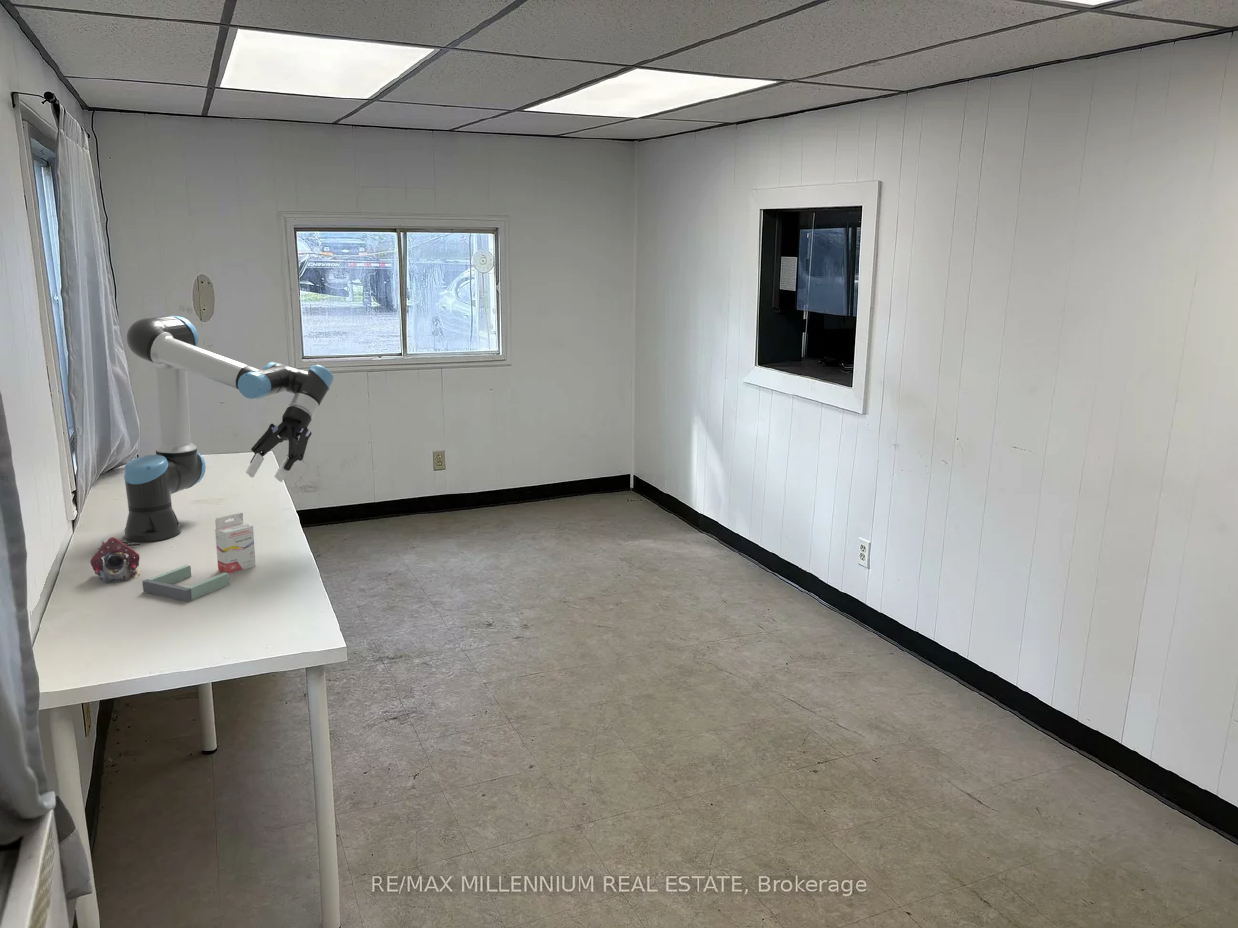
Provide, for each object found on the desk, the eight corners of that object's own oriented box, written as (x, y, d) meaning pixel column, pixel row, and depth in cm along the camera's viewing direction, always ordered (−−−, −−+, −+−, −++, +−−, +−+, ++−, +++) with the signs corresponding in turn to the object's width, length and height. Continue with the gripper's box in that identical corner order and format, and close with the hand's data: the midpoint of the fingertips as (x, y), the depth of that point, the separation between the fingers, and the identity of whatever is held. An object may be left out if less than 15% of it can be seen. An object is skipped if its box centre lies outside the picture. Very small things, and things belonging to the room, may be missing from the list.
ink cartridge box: (228, 574, 243) (223, 521, 239) (217, 570, 245) (213, 518, 242) (256, 565, 249) (252, 514, 246) (246, 562, 252) (242, 511, 249)
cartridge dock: (143, 592, 229) (142, 580, 228) (187, 575, 241) (186, 564, 241) (187, 601, 223) (185, 590, 223) (229, 584, 236) (228, 573, 235)
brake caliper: (89, 579, 230) (87, 535, 234) (94, 592, 239) (92, 550, 244) (139, 573, 235) (136, 530, 239) (143, 586, 244) (140, 545, 249)
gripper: (337, 423, 262) (302, 488, 251) (277, 416, 270) (241, 479, 260) (323, 408, 256) (287, 474, 245) (263, 402, 264) (225, 465, 254)
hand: (263, 477), depth 253 cm, fingers open, 10 cm apart
